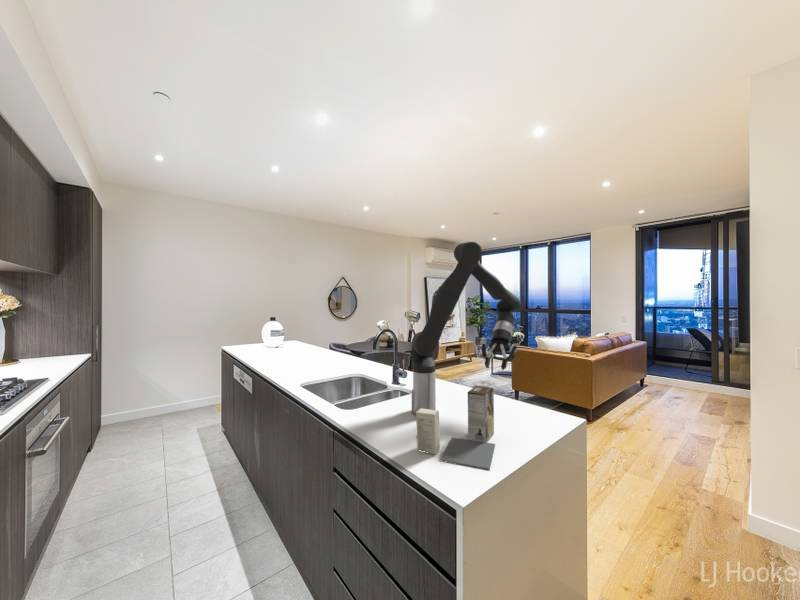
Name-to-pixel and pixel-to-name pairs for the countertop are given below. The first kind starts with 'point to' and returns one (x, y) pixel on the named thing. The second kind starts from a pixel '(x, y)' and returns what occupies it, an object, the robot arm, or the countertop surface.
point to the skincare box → (428, 430)
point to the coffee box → (480, 413)
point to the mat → (469, 453)
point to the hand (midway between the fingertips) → (494, 367)
